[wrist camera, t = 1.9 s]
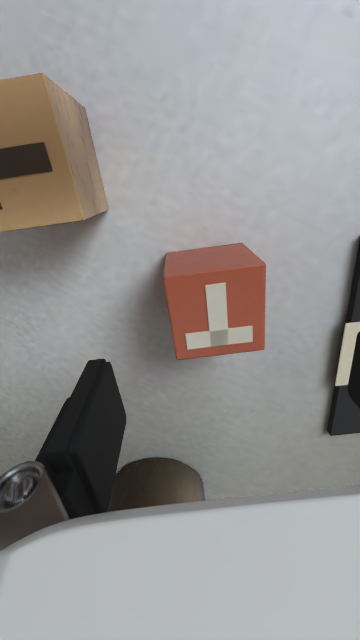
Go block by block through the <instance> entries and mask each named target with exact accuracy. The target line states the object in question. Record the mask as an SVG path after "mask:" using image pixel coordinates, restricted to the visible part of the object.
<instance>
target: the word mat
mask: <svg viewBox="0 0 360 640" xmlns="http://www.w3.org/2000/svg"><path fill="white" fill-rule="evenodd" d="M358 332H360V243H359V249H358V255H357V261H356V266H355V272H354V278H353V284H352V290H351V296H350V302H349V307H348V313H347V319H346V323H345V328H344V334H343V339H342V345H341V351H340V357H339V363H338V369H337V375H336V381H335V389H334V395H333V401H332V407H331V413H330V419H329V425H328V432H329V434H330V435H331V436H332V435H342V434H351V433H360V409H359V407H358V406H357V405H356V404H355V403H354V402H353V400H352V399H351V398H350V396H349V394H348V391H347V387H348V381H349V376H350V370H351V365H352V360H353V354H354V349H355V343H356V338H357V334H358Z"/></svg>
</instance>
